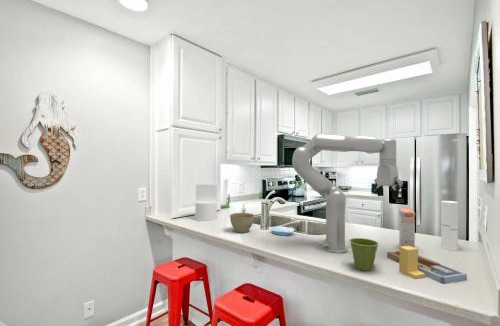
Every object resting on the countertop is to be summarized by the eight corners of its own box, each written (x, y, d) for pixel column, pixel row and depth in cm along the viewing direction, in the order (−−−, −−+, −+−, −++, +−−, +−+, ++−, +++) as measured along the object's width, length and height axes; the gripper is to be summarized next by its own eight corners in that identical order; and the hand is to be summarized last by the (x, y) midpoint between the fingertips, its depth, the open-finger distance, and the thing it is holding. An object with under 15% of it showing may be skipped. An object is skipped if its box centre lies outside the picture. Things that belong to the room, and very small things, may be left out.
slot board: (418, 274, 102) (418, 265, 102) (387, 259, 118) (387, 252, 118) (439, 271, 105) (439, 263, 105) (405, 257, 121) (405, 250, 121)
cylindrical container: (442, 245, 140) (442, 200, 140) (458, 248, 134) (458, 201, 135) (439, 248, 135) (439, 201, 135) (457, 251, 129) (457, 203, 130)
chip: (446, 281, 95) (446, 272, 95) (438, 277, 98) (438, 269, 98) (453, 280, 96) (453, 271, 96) (444, 276, 99) (444, 268, 99)
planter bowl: (256, 233, 161) (256, 217, 162) (230, 234, 159) (230, 217, 159) (251, 227, 177) (252, 212, 177) (229, 228, 175) (229, 212, 175)
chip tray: (442, 286, 92) (442, 277, 92) (417, 274, 102) (417, 266, 102) (466, 282, 95) (466, 274, 95) (440, 271, 105) (440, 263, 105)
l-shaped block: (414, 281, 96) (414, 252, 96) (399, 273, 103) (399, 246, 103) (425, 280, 97) (425, 251, 98) (409, 272, 104) (409, 245, 104)
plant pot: (382, 267, 109) (382, 241, 109) (373, 276, 101) (373, 248, 101) (355, 260, 117) (355, 236, 118) (344, 267, 109) (344, 241, 109)
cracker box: (415, 254, 125) (415, 212, 125) (401, 252, 127) (401, 211, 127) (411, 246, 137) (411, 208, 137) (398, 245, 140) (398, 207, 140)
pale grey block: (438, 277, 98) (438, 269, 98) (430, 274, 101) (430, 266, 101) (444, 276, 99) (444, 268, 99) (436, 273, 102) (436, 265, 102)
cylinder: (199, 216, 215) (199, 183, 215) (218, 216, 213) (219, 183, 214) (192, 220, 198) (192, 185, 198) (214, 221, 196) (214, 185, 196)
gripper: (369, 163, 134) (369, 195, 134) (395, 163, 118) (395, 199, 118) (381, 163, 136) (381, 195, 136) (408, 163, 120) (408, 199, 119)
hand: (387, 197), depth 127 cm, fingers open, 9 cm apart
